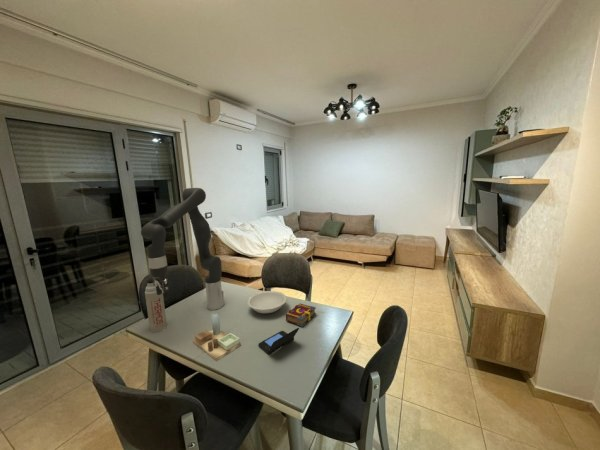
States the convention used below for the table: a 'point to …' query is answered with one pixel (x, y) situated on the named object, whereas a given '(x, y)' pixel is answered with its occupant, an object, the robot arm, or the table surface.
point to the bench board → (216, 351)
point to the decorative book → (300, 314)
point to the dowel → (215, 324)
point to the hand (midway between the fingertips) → (162, 296)
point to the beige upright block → (203, 337)
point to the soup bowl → (267, 301)
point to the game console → (277, 341)
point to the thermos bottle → (155, 308)
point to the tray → (228, 341)
